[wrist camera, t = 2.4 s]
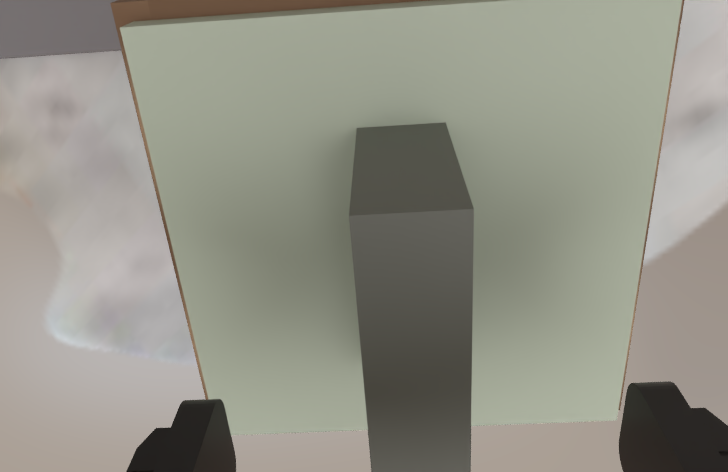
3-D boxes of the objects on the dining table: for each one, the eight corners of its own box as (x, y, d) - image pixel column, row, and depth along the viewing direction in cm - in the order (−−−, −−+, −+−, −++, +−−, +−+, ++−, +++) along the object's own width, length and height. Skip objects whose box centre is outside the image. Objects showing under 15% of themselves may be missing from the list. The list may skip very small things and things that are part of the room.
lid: (145, 15, 18) (5, 80, 11) (651, -20, 17) (829, 24, 10) (229, 396, 24) (172, 582, 17) (598, 381, 23) (686, 568, 17)
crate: (224, -37, 29) (110, 3, 17) (552, -62, 28) (690, -39, 16) (269, 247, 36) (212, 426, 23) (533, 233, 35) (619, 410, 23)
